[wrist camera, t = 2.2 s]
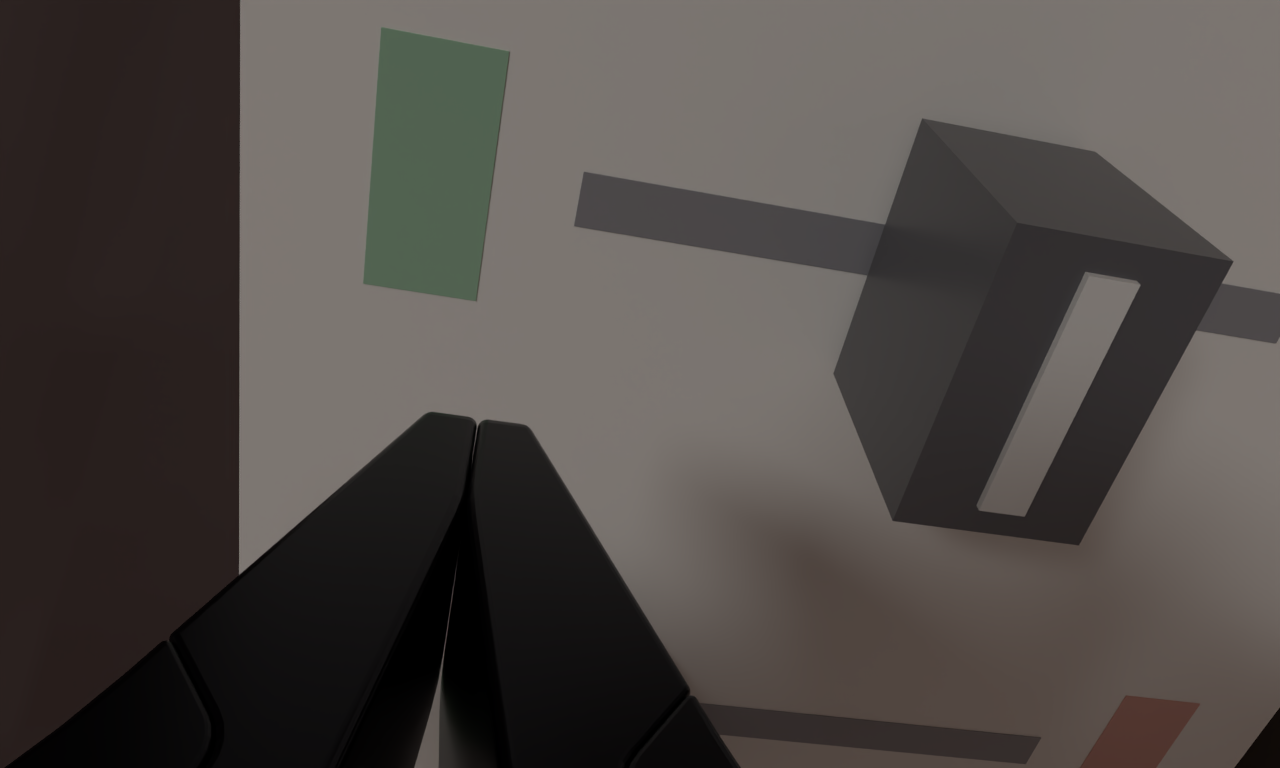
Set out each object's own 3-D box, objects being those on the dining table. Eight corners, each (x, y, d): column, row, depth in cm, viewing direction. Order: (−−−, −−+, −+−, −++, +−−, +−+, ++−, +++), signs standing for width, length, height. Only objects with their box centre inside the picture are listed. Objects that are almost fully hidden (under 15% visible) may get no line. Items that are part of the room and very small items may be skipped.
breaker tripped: (1095, 151, 14) (1238, 265, 11) (986, 396, 16) (1082, 551, 13) (922, 118, 14) (1021, 226, 11) (833, 373, 16) (894, 526, 13)
